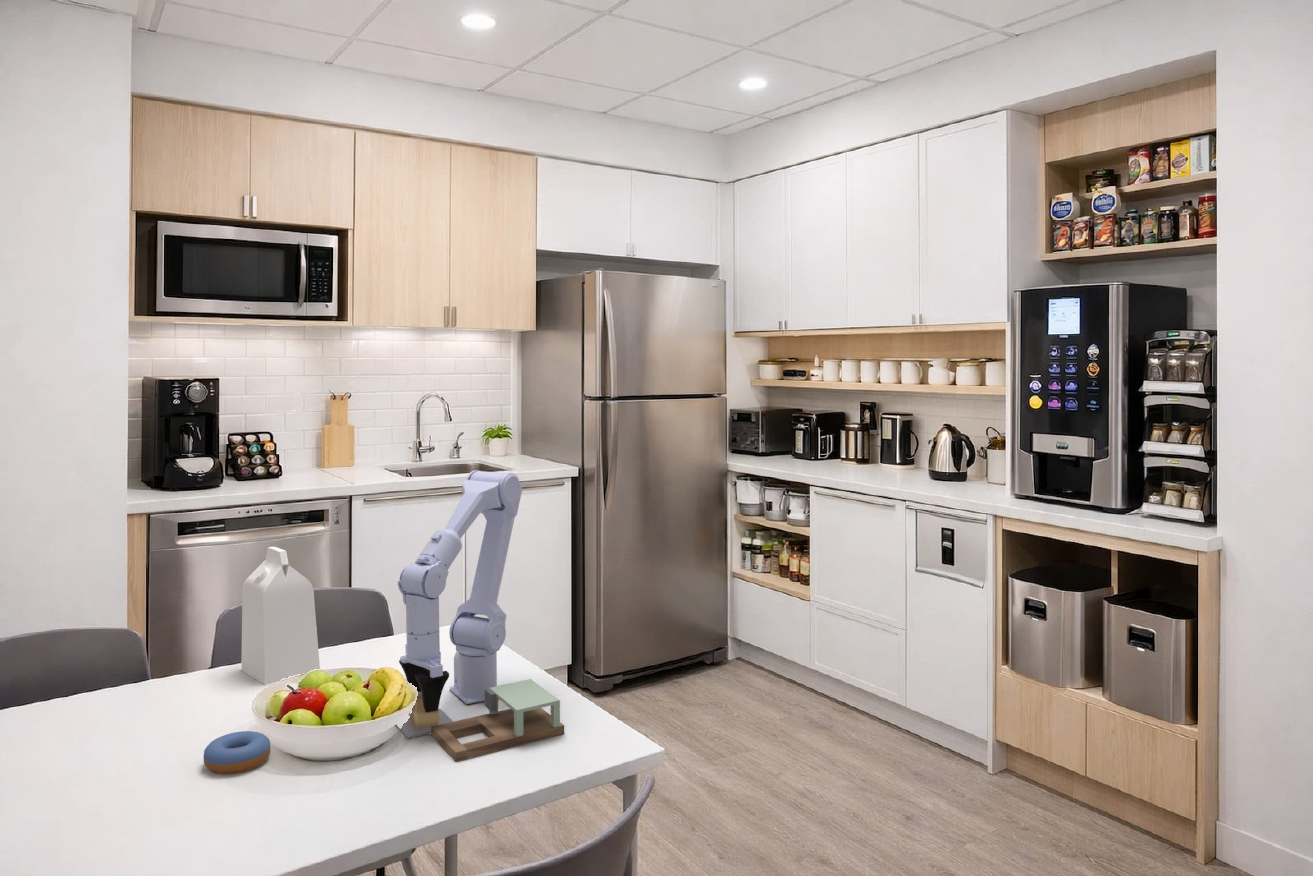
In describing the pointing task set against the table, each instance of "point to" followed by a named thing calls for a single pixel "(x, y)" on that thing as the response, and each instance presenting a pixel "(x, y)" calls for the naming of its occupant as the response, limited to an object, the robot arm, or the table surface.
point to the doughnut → (237, 752)
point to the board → (494, 732)
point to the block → (423, 714)
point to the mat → (412, 731)
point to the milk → (278, 621)
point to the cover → (522, 701)
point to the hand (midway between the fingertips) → (424, 703)
